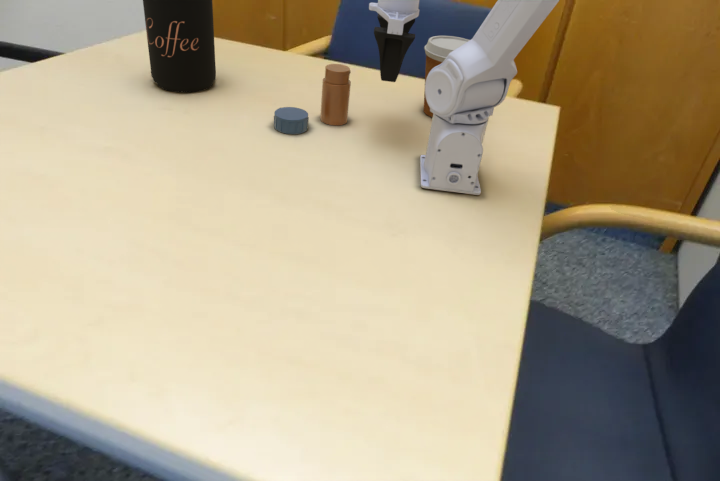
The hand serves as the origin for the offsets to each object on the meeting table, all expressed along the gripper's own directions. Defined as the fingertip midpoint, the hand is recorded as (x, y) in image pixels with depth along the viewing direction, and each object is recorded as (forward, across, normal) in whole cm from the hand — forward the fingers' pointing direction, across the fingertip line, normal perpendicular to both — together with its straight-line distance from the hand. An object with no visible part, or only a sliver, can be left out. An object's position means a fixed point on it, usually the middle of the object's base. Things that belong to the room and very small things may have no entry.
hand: (389, 72), depth 83 cm
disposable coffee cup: (+10, -11, +10) cm, 18 cm away
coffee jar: (+10, -10, -35) cm, 38 cm away
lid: (+8, +3, -14) cm, 16 cm away
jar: (+9, -2, -8) cm, 12 cm away
